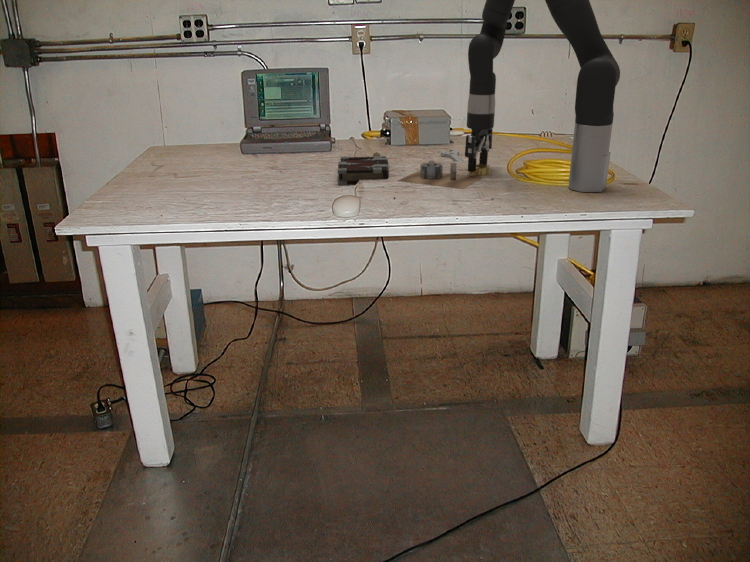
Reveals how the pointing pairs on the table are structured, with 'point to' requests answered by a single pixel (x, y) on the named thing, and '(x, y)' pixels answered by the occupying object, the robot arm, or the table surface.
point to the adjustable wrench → (452, 155)
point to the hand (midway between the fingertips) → (477, 168)
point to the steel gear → (431, 171)
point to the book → (362, 168)
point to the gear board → (443, 179)
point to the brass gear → (481, 170)
